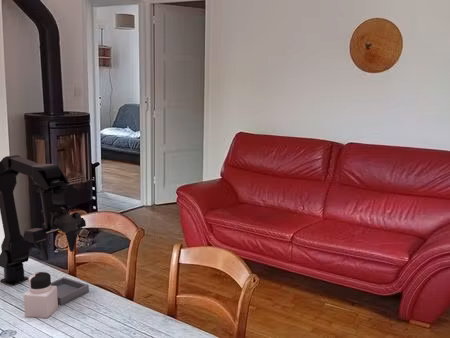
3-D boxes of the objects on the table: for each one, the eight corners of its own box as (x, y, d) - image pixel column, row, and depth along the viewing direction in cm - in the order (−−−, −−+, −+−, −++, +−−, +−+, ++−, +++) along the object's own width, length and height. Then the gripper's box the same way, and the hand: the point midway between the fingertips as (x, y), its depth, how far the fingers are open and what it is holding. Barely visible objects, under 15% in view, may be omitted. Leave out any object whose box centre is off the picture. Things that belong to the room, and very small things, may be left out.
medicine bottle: (58, 307, 153) (56, 270, 150) (47, 318, 146) (45, 280, 144) (36, 305, 154) (33, 269, 151) (24, 317, 147) (22, 278, 144)
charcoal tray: (35, 296, 159) (35, 289, 159) (64, 283, 169) (63, 276, 169) (60, 305, 154) (60, 298, 153) (88, 292, 163) (88, 284, 163)
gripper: (41, 214, 140) (49, 268, 142) (94, 200, 155) (100, 249, 157) (18, 212, 146) (26, 264, 148) (71, 199, 161) (77, 246, 163)
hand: (59, 255), depth 154 cm, fingers open, 9 cm apart
